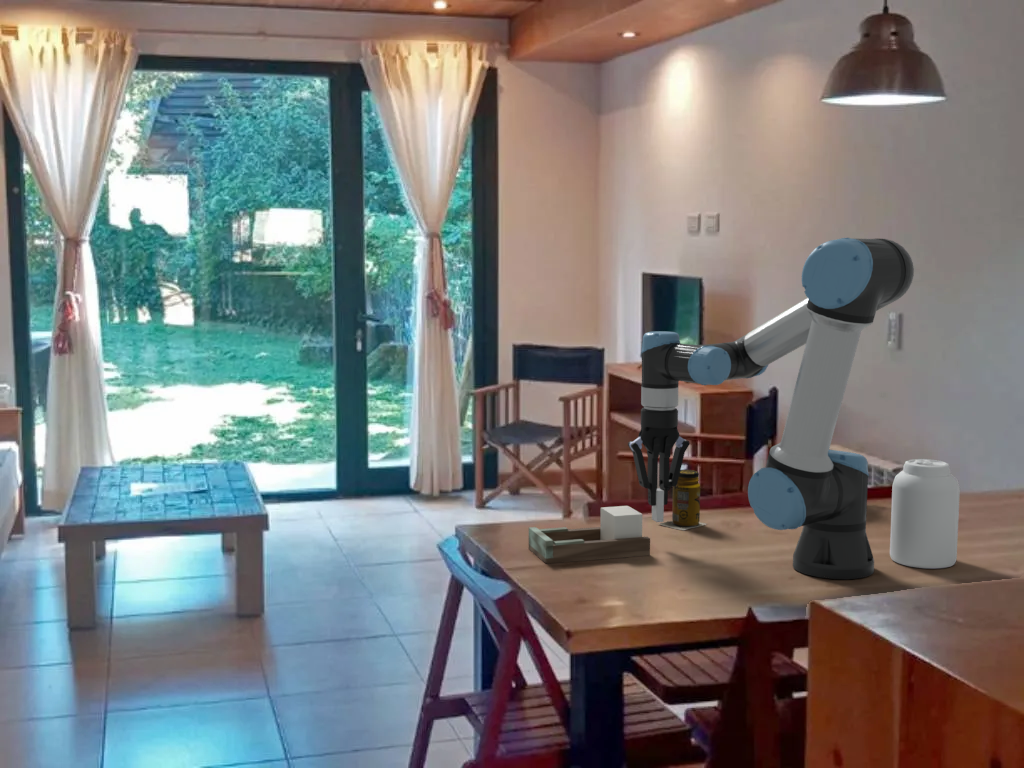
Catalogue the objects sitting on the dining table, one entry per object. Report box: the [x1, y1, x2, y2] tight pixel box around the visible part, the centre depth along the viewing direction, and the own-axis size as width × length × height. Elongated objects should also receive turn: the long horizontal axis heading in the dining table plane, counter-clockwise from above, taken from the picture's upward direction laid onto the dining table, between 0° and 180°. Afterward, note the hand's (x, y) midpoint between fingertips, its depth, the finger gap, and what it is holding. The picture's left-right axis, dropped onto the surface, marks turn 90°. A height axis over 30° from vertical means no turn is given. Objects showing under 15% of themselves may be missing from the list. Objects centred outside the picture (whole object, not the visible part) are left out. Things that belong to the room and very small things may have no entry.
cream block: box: [599, 505, 643, 540], centre depth 244 cm, size 8×6×7 cm
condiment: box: [659, 469, 707, 531], centre depth 265 cm, size 7×8×12 cm
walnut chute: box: [528, 526, 651, 565], centre depth 243 cm, size 12×22×4 cm, turn 106°
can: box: [889, 458, 961, 570], centre depth 235 cm, size 12×12×20 cm
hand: (657, 520), depth 247 cm, fingers closed
